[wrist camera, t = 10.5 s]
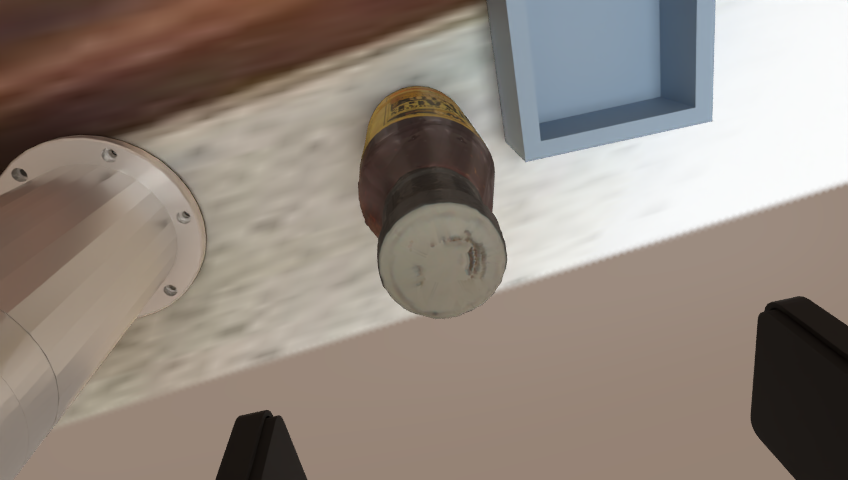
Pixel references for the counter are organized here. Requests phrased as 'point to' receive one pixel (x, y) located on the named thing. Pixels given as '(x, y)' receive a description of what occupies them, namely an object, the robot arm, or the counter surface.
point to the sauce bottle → (431, 204)
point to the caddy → (600, 70)
